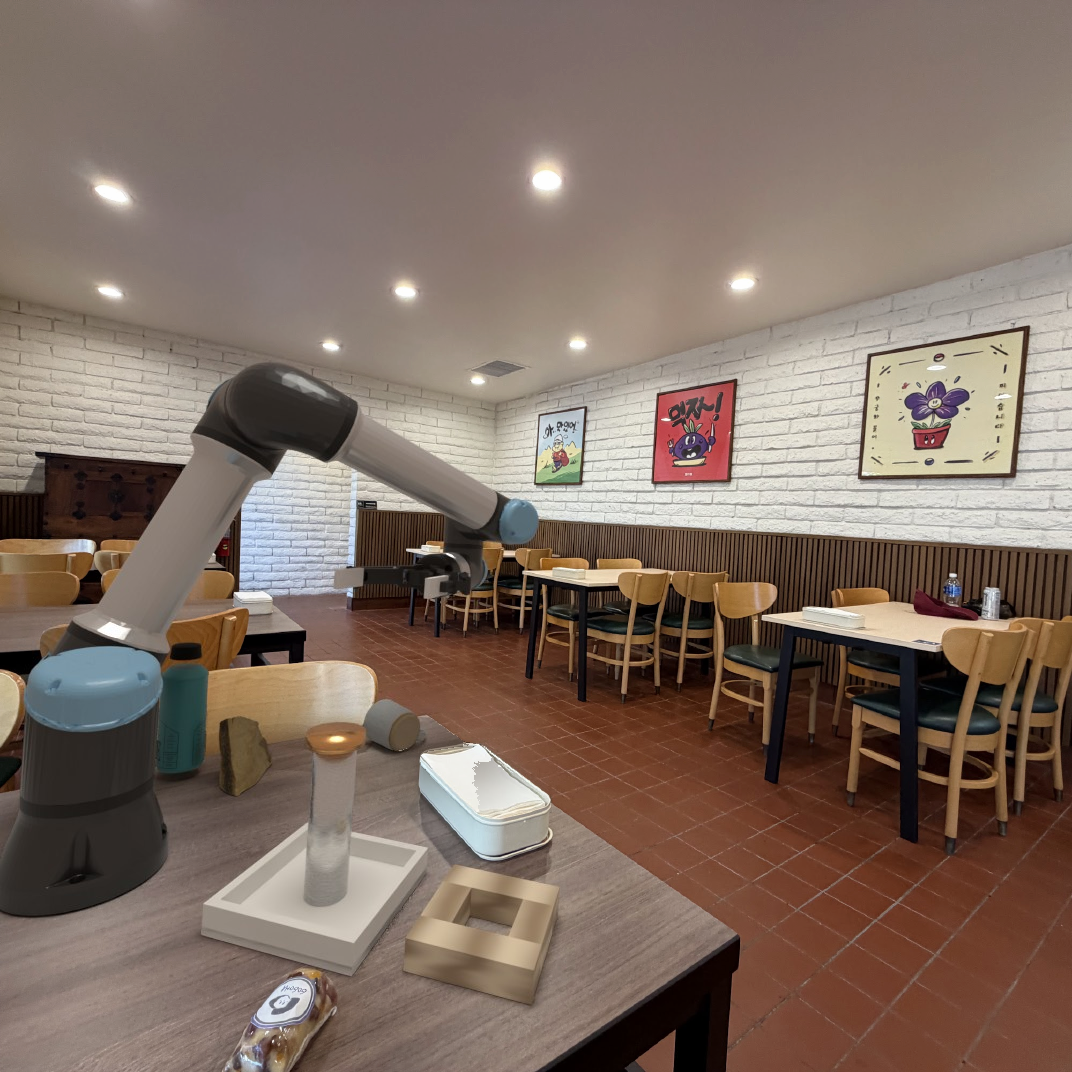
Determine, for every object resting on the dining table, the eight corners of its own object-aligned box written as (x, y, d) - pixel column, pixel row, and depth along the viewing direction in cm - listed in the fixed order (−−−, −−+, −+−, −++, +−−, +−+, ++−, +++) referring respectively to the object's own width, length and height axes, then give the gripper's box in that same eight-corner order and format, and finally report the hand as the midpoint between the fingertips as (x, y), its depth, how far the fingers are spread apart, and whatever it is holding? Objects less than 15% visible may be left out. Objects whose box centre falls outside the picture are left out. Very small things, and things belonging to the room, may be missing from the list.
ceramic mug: (388, 758, 97) (392, 713, 97) (360, 744, 102) (364, 702, 102) (435, 744, 105) (439, 703, 105) (407, 732, 110) (410, 692, 110)
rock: (258, 742, 94) (196, 751, 86) (284, 707, 92) (224, 713, 84) (281, 798, 89) (218, 814, 81) (309, 763, 87) (248, 775, 79)
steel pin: (282, 904, 58) (293, 737, 57) (317, 871, 63) (328, 718, 63) (334, 917, 56) (346, 746, 56) (365, 882, 62) (376, 726, 62)
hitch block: (403, 970, 51) (405, 938, 51) (452, 891, 63) (454, 864, 63) (531, 1005, 49) (533, 970, 48) (557, 914, 60) (559, 887, 60)
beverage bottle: (212, 773, 87) (221, 644, 87) (165, 788, 81) (174, 650, 81) (190, 761, 90) (199, 637, 90) (144, 775, 85) (153, 642, 85)
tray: (201, 935, 54) (203, 903, 54) (305, 846, 69) (307, 822, 69) (351, 976, 50) (353, 943, 50) (426, 873, 66) (428, 847, 66)
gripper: (509, 603, 95) (465, 620, 74) (374, 589, 101) (298, 602, 80) (512, 558, 95) (469, 564, 74) (377, 547, 100) (302, 549, 80)
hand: (380, 584), depth 77 cm, fingers open, 13 cm apart
